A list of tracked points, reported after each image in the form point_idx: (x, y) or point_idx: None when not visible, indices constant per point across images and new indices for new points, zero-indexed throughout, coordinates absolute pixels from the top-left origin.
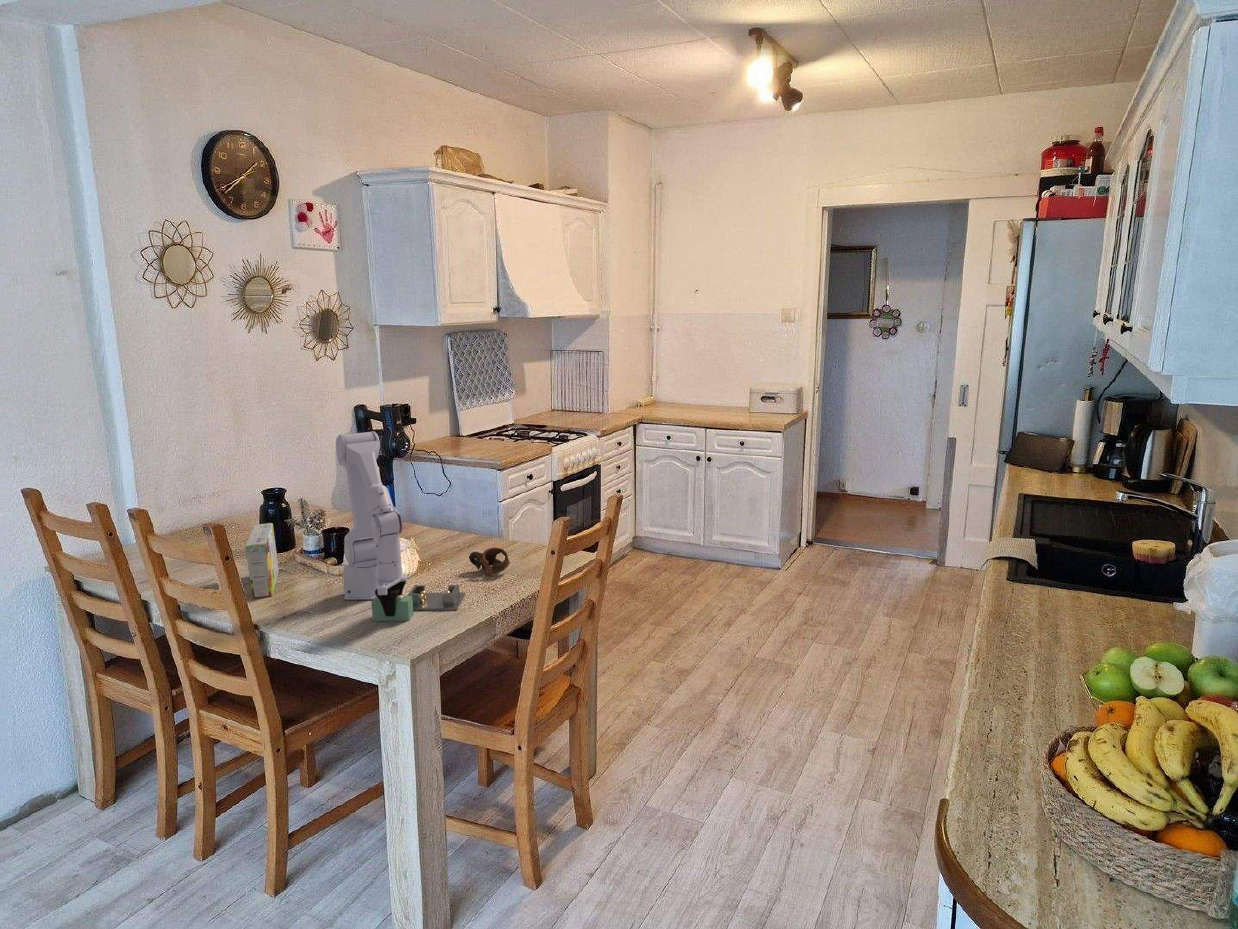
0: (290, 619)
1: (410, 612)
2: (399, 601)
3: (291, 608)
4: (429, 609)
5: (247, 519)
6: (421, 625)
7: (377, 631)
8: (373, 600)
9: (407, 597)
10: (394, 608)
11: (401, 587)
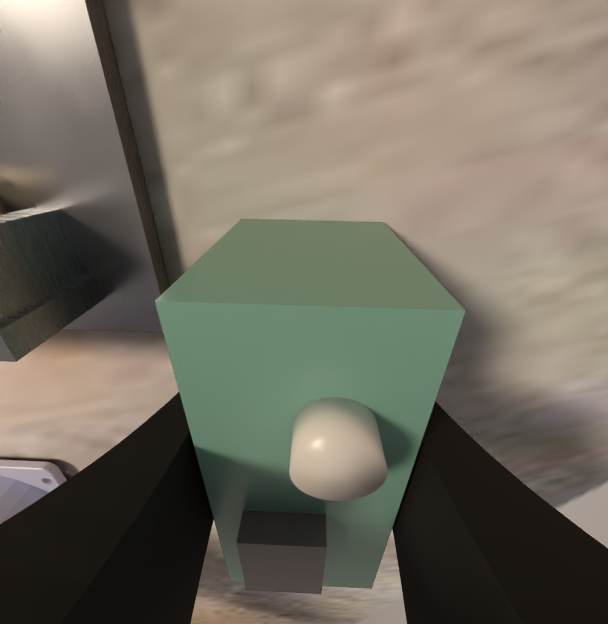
0: (305, 606)
1: (331, 235)
2: (421, 423)
3: (219, 613)
4: (106, 53)
5: None
6: (548, 46)
7: (526, 388)
8: (337, 583)
9: (253, 356)
10: (437, 404)
11: (99, 595)
